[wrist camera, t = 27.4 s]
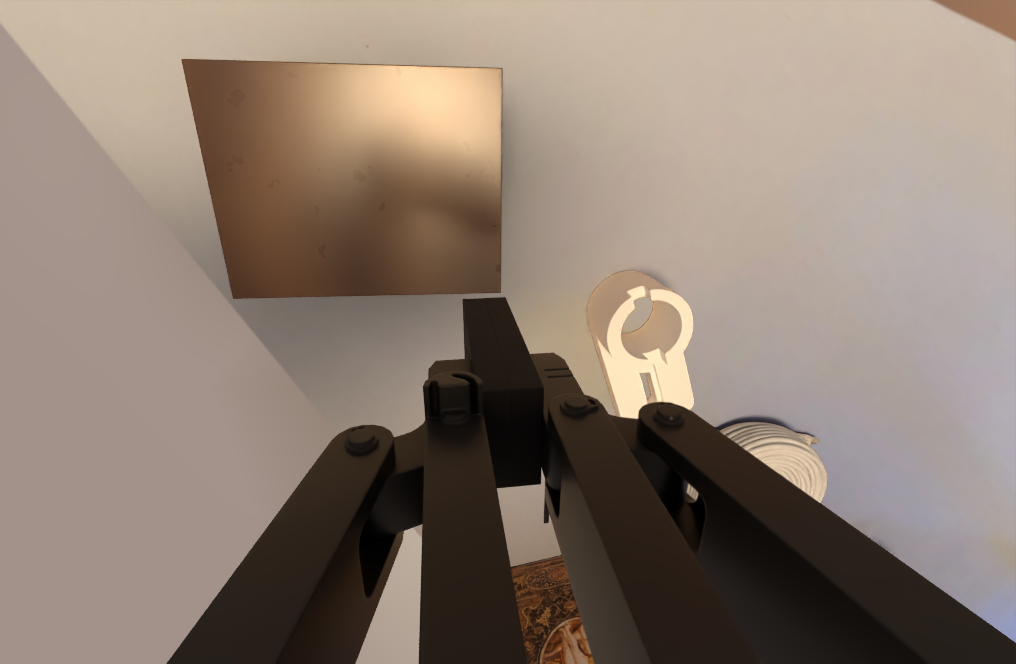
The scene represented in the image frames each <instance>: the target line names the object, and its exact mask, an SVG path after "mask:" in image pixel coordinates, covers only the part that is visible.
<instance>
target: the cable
mask: <svg viewBox="0 0 1016 664" xmlns="http://www.w3.org/2000/svg"><path fill="white" fill-rule="evenodd" d="M720 432H721V433H723V434H724V435H726V436H727V437H728V438H730V439H731V440H733V441H734V442H735V443H737V444H738V445H740V446H741V447H742V448H744V449H745V450H747V451H748V452H749V453H751V454H752V455H754V456H755V457H756V458H758V459H759V460H761V461H762V462H763V463H765V464H766V465H768V466H769V467H770V468H772V469H773V470H775V471H776V472H777V473H779V474H780V475H782V476H783V477H784V478H786V479H787V480H789V481H790V482H791V483H793V484H794V485H796V486H797V487H798V488H800V489H801V490H803V491H804V492H805V493H807V494H808V495H810V496H811V497H812V498H814V499H815V500H816V501H818V502H819V503H820V502H821V501H822V499H823V496H824V494H825V490H826V486H827V474H826V470H825V467H824V465H823V464H822V462H821V459H820V457H819V456H818V454H817V453H816V452H815V451H814V450H813V449H812V448H811V447H810V444H816V443H818V442H819V439H818V438H814V437H812V436H810V435H807V434H801V433H795V432H793V431H791V430H789V429H787V428H785V427H782V426H779V425H775V424H771V423H763V422H745V423H739V424H735V425H732V426H729V427H726V428H724V429H722V430H720ZM687 493H688V494H689V495H690V496H691V497H692V498H693V499H695V500H696V499H697V496H698V492H697V491H696V490H695V489H694V488H693V487H692V486H691V485H690V484H688V487H687Z"/></svg>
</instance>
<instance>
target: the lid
mask: <svg viewBox="0 0 1016 664" xmlns="http://www.w3.org/2000/svg"><path fill="white" fill-rule="evenodd" d="M182 64H183V69H184V73H185V78H186V83H187V87H188V92H189V97H190V101H191V106H192V110H193V115H194V120H195V124H196V129H197V134H198V138H199V143H200V148H201V152H202V157H203V161H204V166H205V171H206V175H207V180H208V185H209V189H210V194H211V199H212V203H213V208H214V212H215V217H216V222H217V226H218V231H219V236H220V240H221V245H222V250H223V254H224V259H225V263H226V268H227V273H228V277H229V282H230V287H231V291H232V296H233V299H242V298H287V297H332V296H377V295H422V294H467V293H501V199H502V68H482V67H447V66H412V65H376V64H341V63H306V62H271V61H236V60H201V59H182Z"/></svg>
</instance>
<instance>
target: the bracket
mask: <svg viewBox="0 0 1016 664" xmlns="http://www.w3.org/2000/svg"><path fill="white" fill-rule="evenodd" d="M643 296H646V297H648V298H649V299H650V300H652V301H653V310H652V313H651V315H650V317H649V319H648V320H647V322H646V323H645V324H644V325H643V326H642V327H641V328H639V329H638V330H636V331H634V332H631V333H627V334H621V329H622V325H623V323H624V321H625V319H626V317H627V316H628V315H629V313H630V312H631V311H632V310H633V309H635V306H634V302H633V300H635V299H637V298H640V297H643ZM587 321H588V324H589V327H590V331H591V334H592V337H593V340H594V344H595V347H596V350H597V353H598V357H599V360H600V363H601V366H602V370H603V373H604V376H605V379H606V382H607V386H608V389H609V392H610V395H611V399H612V402H613V405H614V408H615V412H616V415H617V416H618V417H626V418H635V419H638V414H639V410H640V409H641V407H642V406H644V405H646V404H649V403H653V402H671V403H674V404H677V405H680V406H683V407H685V408H687V409H688V410H691V408H692V406H693V404H694V399H693V394H692V390H691V385H690V381H689V376H688V372H687V367H686V363H685V358H684V354H683V351H684V350H685V348H686V347H687V345H688V343H689V341H690V338H691V335H692V331H693V317H692V313H691V310H690V308H689V306H688V304H687V303H686V302H685V300H684V299H683V298H681V297H680V296H679V295H677V294H676V293H674V292H673V291H671V290H670V289H668V288H667V287H665V286H664V285H662V284H661V283H659V282H658V281H656V280H655V279H653V278H652V277H650V276H649V275H647V274H645V273H642V272H638V271H623V272H619V273H616V274H613V275H611V276H610V277H608V278H606V279H605V280H604V281H602V282H601V283H600V284H599V285H598V286H597V288H596V289H595V290H594V292H593V293H592V295H591V297H590V299H589V302H588V306H587ZM639 373H646V376H647V380H648V383H649V387H650V391H651V396H650V397H649V398H648V399H646V396H645V392H644V388H643V385H642V381H641V377H640V374H639Z"/></svg>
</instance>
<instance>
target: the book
mask: <svg viewBox="0 0 1016 664" xmlns="http://www.w3.org/2000/svg"><path fill="white" fill-rule="evenodd" d="M511 572H512V578H513V583H514V589H515V594H516V600H517V606H518V611H519V617H520V623H521V628H522V634H523V639H524V645H525V651H526V656H527V662H528V664H594V661H593V658H592V654H591V651H590V648H589V644H588V641H587V638H586V634H585V631H584V628H583V624H582V621H581V617H580V614H579V611H578V607H577V604H576V601H575V597H574V594H573V591H572V587H571V584H570V581H569V577H568V574H567V570H566V567H565V564H564V560H563V557H562V556H559V557H554V558H550V559H545V560H541V561H537V562H532V563H528V564H525V565H521V566H517V567H514V568H511Z"/></svg>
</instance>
